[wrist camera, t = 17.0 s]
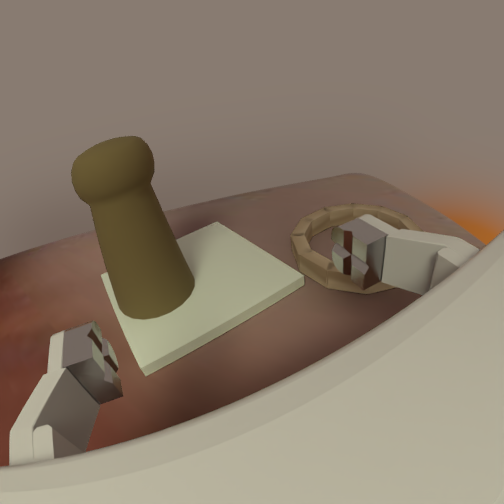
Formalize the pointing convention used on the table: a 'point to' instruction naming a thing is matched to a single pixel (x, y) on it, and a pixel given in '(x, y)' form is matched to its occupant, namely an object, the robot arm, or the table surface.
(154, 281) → the cork
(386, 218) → the ring
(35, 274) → the table surface
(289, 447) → the robot arm
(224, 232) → the ceramic tile
